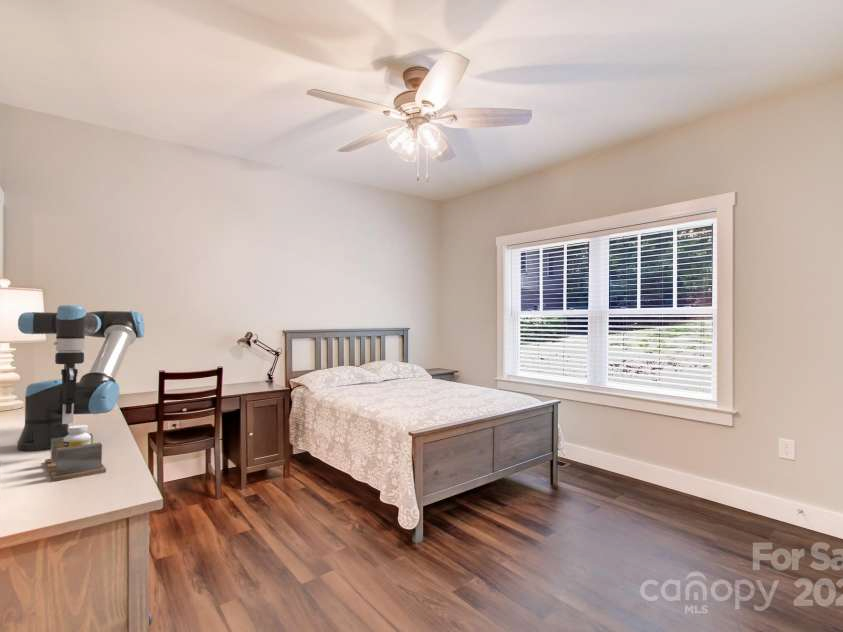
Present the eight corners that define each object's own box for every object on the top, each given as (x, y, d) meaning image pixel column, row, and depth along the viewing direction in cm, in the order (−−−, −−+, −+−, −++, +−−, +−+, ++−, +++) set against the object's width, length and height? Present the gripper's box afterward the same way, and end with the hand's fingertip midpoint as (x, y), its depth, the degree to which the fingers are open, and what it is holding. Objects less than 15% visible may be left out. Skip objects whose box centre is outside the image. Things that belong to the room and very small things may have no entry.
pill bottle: (57, 467, 130) (58, 427, 130) (81, 461, 136) (82, 423, 136) (71, 470, 128) (72, 429, 128) (95, 463, 134) (96, 425, 134)
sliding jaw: (49, 458, 139) (49, 436, 139) (88, 452, 146) (89, 431, 146) (51, 463, 134) (52, 440, 134) (92, 457, 141) (92, 435, 141)
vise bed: (44, 462, 138) (45, 436, 138) (92, 455, 146) (93, 430, 147) (52, 481, 121) (53, 452, 121) (106, 472, 129) (106, 444, 129)
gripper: (53, 351, 150) (50, 422, 149) (57, 352, 140) (55, 427, 139) (81, 350, 155) (79, 419, 154) (87, 352, 145) (84, 424, 144)
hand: (67, 423), depth 146 cm, fingers closed
